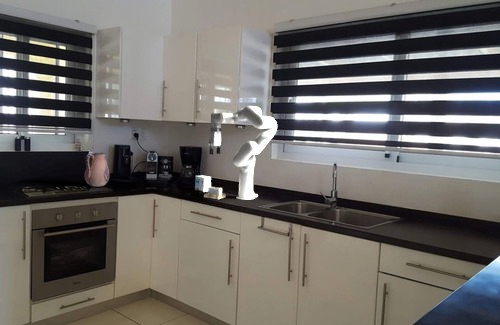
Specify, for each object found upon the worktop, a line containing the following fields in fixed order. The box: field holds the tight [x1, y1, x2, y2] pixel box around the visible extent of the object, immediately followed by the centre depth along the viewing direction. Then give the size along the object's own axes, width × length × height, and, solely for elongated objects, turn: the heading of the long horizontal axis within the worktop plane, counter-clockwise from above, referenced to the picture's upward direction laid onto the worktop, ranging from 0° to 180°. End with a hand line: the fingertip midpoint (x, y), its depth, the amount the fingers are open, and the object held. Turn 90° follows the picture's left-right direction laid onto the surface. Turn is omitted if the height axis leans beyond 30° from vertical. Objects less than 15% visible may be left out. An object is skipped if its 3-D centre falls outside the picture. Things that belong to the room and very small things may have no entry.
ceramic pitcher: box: [84, 151, 110, 188], centre depth 307 cm, size 18×21×25 cm
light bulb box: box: [194, 174, 212, 193], centre depth 307 cm, size 11×7×11 cm, turn 45°
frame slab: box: [207, 186, 223, 196], centre depth 282 cm, size 9×4×6 cm, turn 64°
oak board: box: [203, 192, 227, 200], centre depth 282 cm, size 11×10×2 cm
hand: (215, 154), depth 296 cm, fingers open, 9 cm apart
